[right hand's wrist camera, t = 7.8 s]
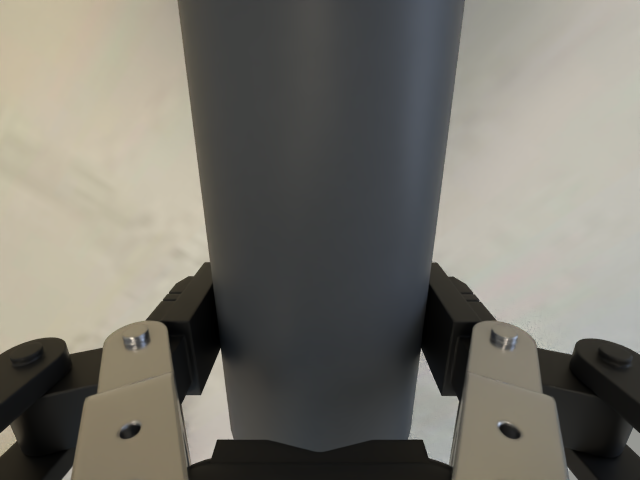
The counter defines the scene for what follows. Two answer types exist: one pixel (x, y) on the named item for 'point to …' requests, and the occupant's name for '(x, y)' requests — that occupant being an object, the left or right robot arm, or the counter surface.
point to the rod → (321, 204)
